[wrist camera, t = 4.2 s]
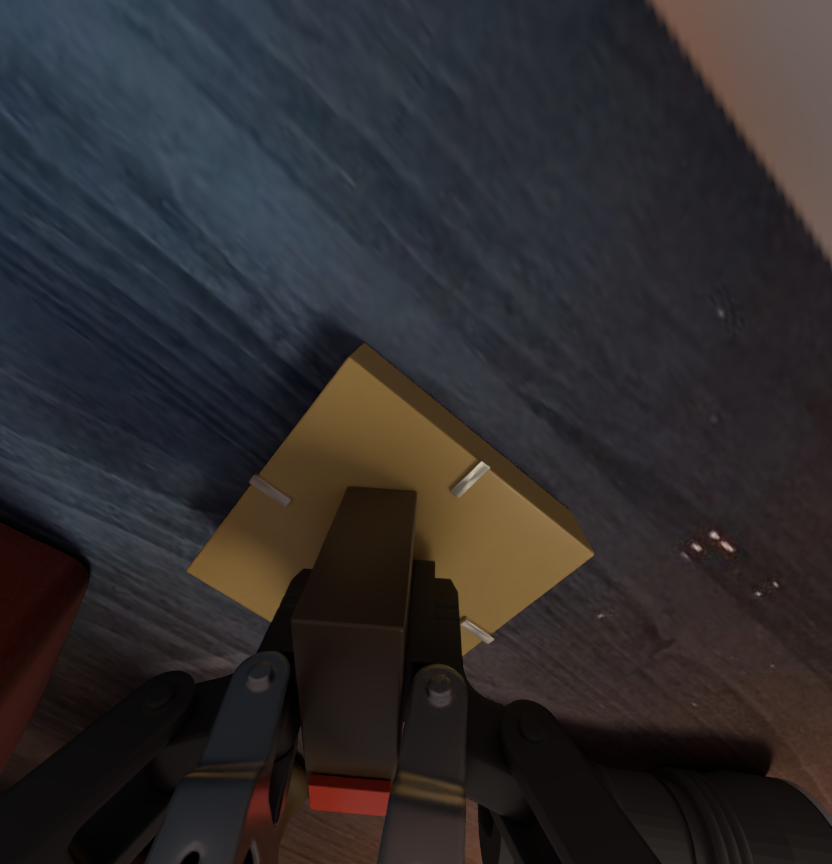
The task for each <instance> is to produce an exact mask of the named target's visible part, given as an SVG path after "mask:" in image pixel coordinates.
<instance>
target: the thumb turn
mask: <svg viewBox="0 0 832 864" xmlns="http://www.w3.org/2000/svg"><path fill="white" fill-rule="evenodd" d="M416 511H417V491H412V490H397V489H382V488H367V487H351V486H349V487H347V489H346V491H345V493H344V496H343V498H342V501H341V503H340V505H339V508H338V510H337V512H336V515H335V517H334V519H333V522H332V524H331V526H330V529H329V531H328V533H327V536H326V538H325V540H324V543H323V545H322V547H321V550H320V552H319V555H318V557H317V559H316V562H315V564H314V566H313V569H312V571H311V573H310V576H309V578H308V580H307V583H306V585H305V587H304V590H303V592H302V594H301V597H300V599H299V601H298V604H297V606H296V608H295V611H294V613H293V616H292V618H291V620H290V623H291V633H292V642H293V652H294V662H295V671H296V681H297V691H298V700H299V710H300V720H301V729H302V739H303V749H304V758H305V768H306V778H307V787H308V797H309V799H310V809H311V810H322V811H333V812H344V813H355V814H366V815H377V816H386V810H387V805H388V800H389V794H390V790H391V785H392V782H393V779H394V778H395V774H396V769H397V763H398V758H399V752H400V746H401V741H402V730H403V722H402V713H403V693H404V673H405V656H406V644H407V632H408V619H409V607H410V595H411V583H412V571H413V560H414V548H415V530H416Z"/></svg>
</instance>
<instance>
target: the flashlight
mask: <svg viewBox="0 0 832 864" xmlns="http://www.w3.org/2000/svg"><path fill="white" fill-rule="evenodd" d="M586 761H587V762H588V763H589V765H590V766H591V767H592V769H593V770H594V772H595V773H596V774H597V776H598V777H599V778H600V780H601V781H602V782H603V784H604V785H605V787H606V788H607V789H608V791H609V792H610V793H611V795H612V796H613V798H614V799H615V800H616V802H617V803H618V804H619V806H620V807H621V808H622V810H623V811H624V813H625V814H626V815H627V817H628V818H629V819H630V821H631V822H632V824H633V825H634V826H635V828H636V829H637V830H638V832H639V833H640V834H641V836H642V837H643V839H644V840H645V841H646V843H647V844H648V845H649V847H650V848H651V850H652V851H653V852H654V854H655V855H656V856H657V858H658V859H659V860H660V862H661V863H662V864H832V815H831V814H830V813H829V812H828V811H827V810H826V808H825V807H824V806H823V805H822V804H821V803H820V802H819V801H818V800H817V799H816V798H815V797H814V796H812V795H811V794H810V793H809V792H807V791H806V790H805V789H803V788H802V787H800V786H798V785H797V784H795V783H793V782H790V781H788V780H784V779H779V778H773V777H766V776H760V775H753V774H747V773H741V772H735V771H729V770H716V771H711V772H705V773H700V774H699V773H698V772H696V771H692V770H684V769H680V768H677V769H675V768H673V767H664V768H661V769H659V770H658V771H657V772H656V774H655V775H654V776H652V775H650V774H648V773H643V772H637V771H631V770H625V769H619V768H612V767H606V766H601V765H599V764H598V763H597V762H594V761H592V760H586ZM478 823H479V839H480V848H481V855H482V861H483V864H515V862H514V860H513V858H512V856H511V854H510V852H509V850H508V848H507V846H506V844H505V842H504V840H503V838H502V836H501V834H500V832H499V830H498V827H497V825H496V823H495V821H494V819H493V817H492V815H491V813H490V810H489V809H488V808H486V807H484V806H482V805H481V804H479V803H478Z"/></svg>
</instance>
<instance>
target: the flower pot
mask: <svg viewBox="0 0 832 864" xmlns="http://www.w3.org/2000/svg"><path fill="white" fill-rule="evenodd" d="M88 584H89V576H88V573H87V571H86V569H85V568H84V567H83V565H82V564H81V563H80V562H79V561H77V560H76V559H74V558H72V557H70V556H68V555H67V554H65V553H62V552H60V551H58V550H56V549H54V548H52V547H50V546H48V545H46V544H44V543H42V542H40V541H38V540H35V539H33V538H31V537H29V536H27V535H25V534H23V533H21V532H19V531H17V530H15V529H13V528H11V527H9V526H7V525H5V524H2V523H0V774H1V772H2V770H3V768H4V767H5V765H6V763H7V761H8V760H9V758H10V756H11V754H12V753H13V751H14V749H15V747H16V746H17V744H18V742H19V740H20V738H21V736H22V735H23V733H24V731H25V729H26V727H27V725H28V724H29V722H30V720H31V718H32V716H33V714H34V713H35V711H36V709H37V707H38V704H39V702H40V700H41V698H42V695H43V693H44V690H45V688H46V685H47V683H48V680H49V678H50V676H51V673H52V671H53V669H54V666H55V664H56V662H57V659H58V657H59V655H60V652H61V650H62V647H63V645H64V642H65V640H66V638H67V635H68V633H69V630H70V628H71V626H72V623H73V621H74V618H75V616H76V613H77V611H78V609H79V606H80V604H81V602H82V599H83V597H84V594H85V592H86V590H87V587H88Z"/></svg>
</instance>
